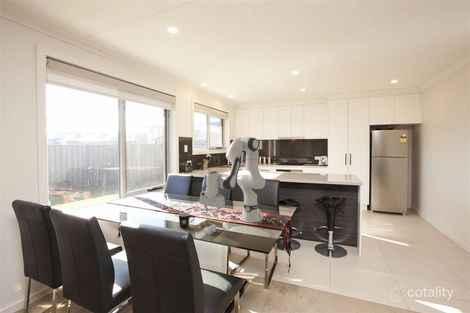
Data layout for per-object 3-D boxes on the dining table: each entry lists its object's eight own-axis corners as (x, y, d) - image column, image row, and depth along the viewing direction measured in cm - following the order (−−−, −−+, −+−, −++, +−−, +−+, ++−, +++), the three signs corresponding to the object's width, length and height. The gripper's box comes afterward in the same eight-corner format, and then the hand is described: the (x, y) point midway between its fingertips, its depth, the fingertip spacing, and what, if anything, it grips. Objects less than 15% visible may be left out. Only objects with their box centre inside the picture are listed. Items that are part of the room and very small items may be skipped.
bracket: (210, 230, 180) (210, 223, 179) (215, 231, 177) (215, 224, 177) (204, 233, 174) (204, 226, 173) (210, 235, 171) (210, 227, 171)
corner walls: (206, 224, 193) (206, 219, 193) (222, 227, 186) (222, 222, 186) (194, 230, 179) (194, 225, 178) (211, 234, 171) (211, 229, 171)
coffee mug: (176, 228, 184) (176, 215, 183) (182, 224, 192) (181, 212, 191) (190, 229, 180) (190, 217, 180) (195, 226, 189) (195, 213, 188)
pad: (205, 226, 187) (205, 226, 187) (213, 228, 184) (213, 228, 184) (201, 229, 182) (201, 229, 182) (208, 231, 178) (208, 230, 178)
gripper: (226, 194, 170) (226, 213, 171) (203, 191, 180) (203, 208, 181) (222, 195, 165) (221, 215, 165) (198, 192, 174) (198, 211, 175)
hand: (212, 211), depth 173 cm, fingers open, 8 cm apart
